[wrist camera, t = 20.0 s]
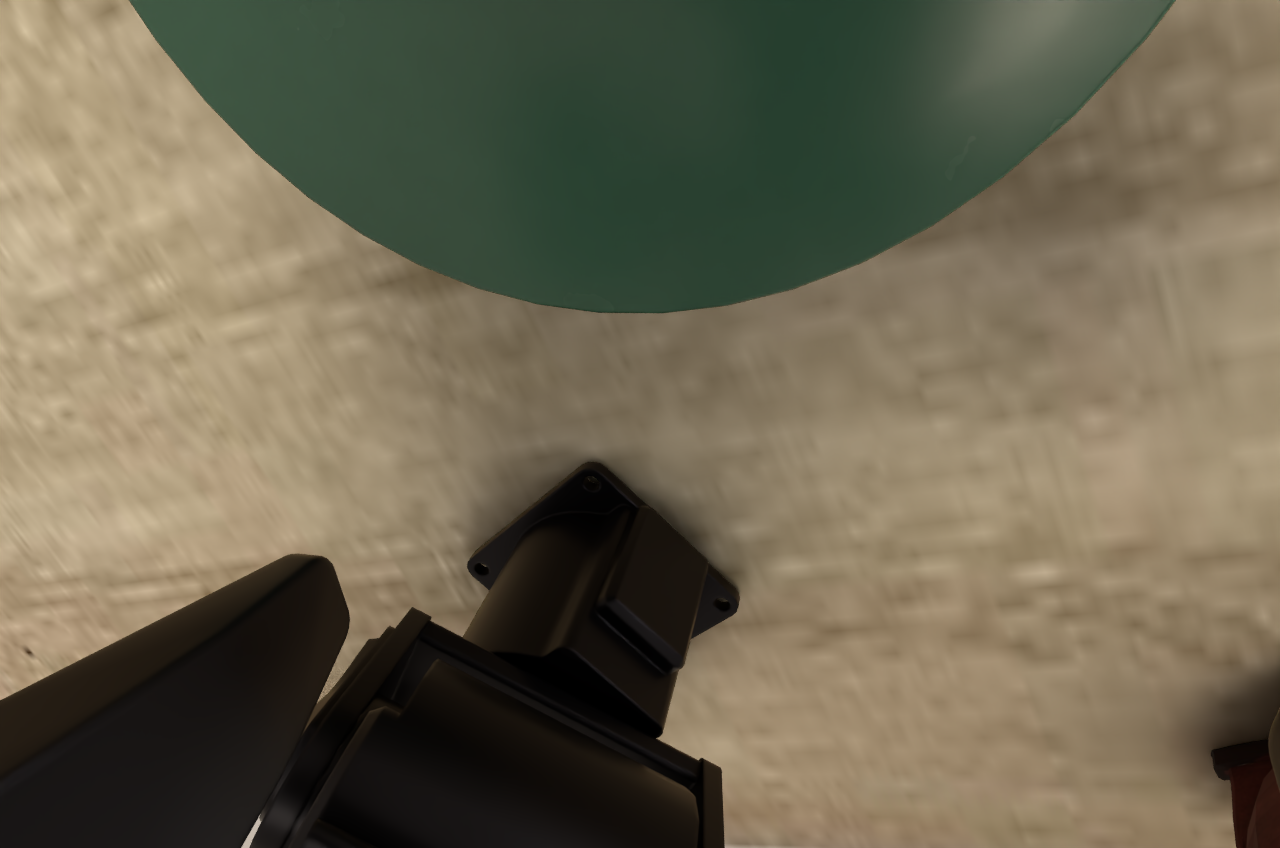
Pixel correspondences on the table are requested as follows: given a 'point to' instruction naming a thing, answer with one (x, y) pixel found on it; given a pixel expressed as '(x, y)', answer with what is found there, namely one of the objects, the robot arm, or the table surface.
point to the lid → (645, 126)
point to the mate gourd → (1251, 793)
